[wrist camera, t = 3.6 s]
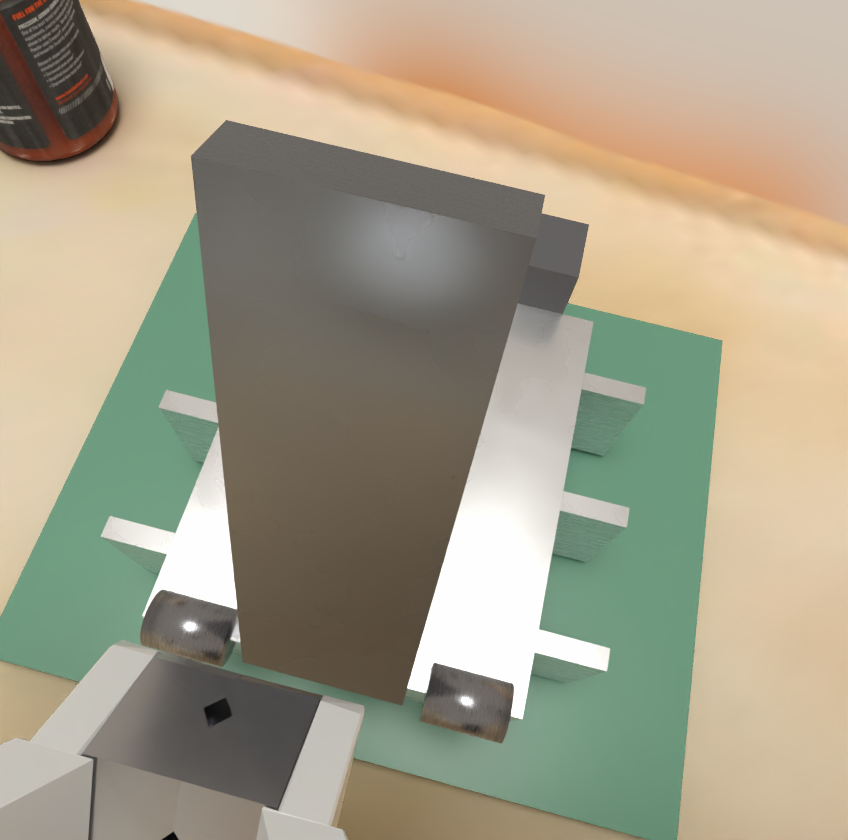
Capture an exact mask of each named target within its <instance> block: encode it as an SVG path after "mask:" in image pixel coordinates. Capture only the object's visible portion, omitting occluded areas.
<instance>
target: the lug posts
mask: <svg viewBox="0 0 848 840" xmlns="http://www.w3.org/2000/svg"><path fill="white" fill-rule="evenodd" d="M588 226H589V225H588V224H584V223H580V222H576V221H571V220H567V219H563V218H559V217H555V216H550V215H546V214H542V213H541V218H540V223H539V228H538V233H537V238H536V242H535V245H534V249H533V252H532V256H531V259H530V263H529V266H528V270H527V273H526V277H525V280H524V283H523V287H522V290H521V294H520V297H519V301H518V304H523V305H527V306H531V307H535V308H539V309H543V310H547V311H551V312H556V313H560V314H563V313H564V310H565V308H566V306H567V303H568V301H569V299H570V296H571V294H572V292H573V289H574V287H575V285H576V282H577V280H578V278H579V273H580V267H581V262H582V257H583V252H584V247H585V242H586V237H587V232H588Z"/></svg>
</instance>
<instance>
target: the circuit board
mask: <svg viewBox="0 0 848 840" xmlns="http://www.w3.org/2000/svg"><path fill="white" fill-rule="evenodd" d="M563 314H564V315H568V316H572V317H576V318H580V319H584V320H589V321H593V328H592V334H591V339H590V345H589V350H588V356H587V361H586V367H585V373H589V374H593V375H597V376H601V377H605V378H609V379H613V380H617V381H621V382H625V383H629V384H633V385H638V386H642V387H646V392H645V400H644V405H643V406H642V408H641V409H640V410H639V411H638V413H637V414H636V415H635V416H634V418H633V419H632V420H631V421H630V423H629V424H628V425H627V427H626V428H625V429H624V430H623V432H622V433H621V434H620V435H619V437H618V438H617V439H616V441H615V442H614V443H613V444H612V446H611V447H610V448H609V449H608V451H607V452H606V453H605V455H604V456H602V455H598V454H594V453H590V452H586V451H582V450H578V449H574V448H571V451H570V456H569V462H568V467H567V473H566V479H565V484H564V490H563V491H565V492H569V493H573V494H577V495H581V496H585V497H589V498H593V499H597V500H601V501H605V502H608V503H612V504H616V505H620V506H624V507H628V508H630V509H629V516H628V523H627V528H626V529H625V530H623V531H622V532H621V533H620V534H619V535H618V536H616V537H615V538H614V539H613V540H612V541H611V542H610V543H608V544H607V545H606V546H605V547H604V548H603V549H601V550H600V551H599V552H598V553H597V554H596V555H594V556H593V557H592V558H591V559H590V560H589V561H587V562H584V561H580V560H576V559H572V558H568V557H564V556H560V555H557V554H553V553H552V557H551V562H550V568H549V573H548V579H547V585H546V590H545V596H544V601H543V607H542V612H541V618H540V624H539V630H543V631H546V632H550V633H554V634H558V635H562V636H565V637H569V638H573V639H577V640H580V641H584V642H588V643H592V644H596V645H599V646H603V647H607V648H610V654H609V661H608V668H607V672H604V673H600V674H597V675H594V676H591V677H587V678H584V679H581V680H577V681H574V682H571V683H564V682H560V681H556V680H552V679H549V678H545V677H541V676H537V675H534V674H530V679H529V685H528V690H527V696H526V702H525V707H524V713H523V718H522V719H520V720H513V721H510V722H509V726H508V729H507V733H506V736H505V738H504V741H503V742H502V743H501V744H500V743H497V742H493V741H489V740H486V739H482V738H478V737H475V736H471V735H467V734H464V733H460V732H456V731H453V730H449V729H445V728H442V727H438V726H434V725H431V724H427V723H423V722H420V715H421V710H422V705H423V704H421V703H417V702H413V701H410V700H406V699H404V702H403V705H398V704H394V703H391V702H387V701H383V700H380V699H376V698H372V697H369V696H365V695H361V694H357V693H354V692H350V691H346V690H343V689H339V688H335V687H332V686H328V685H324V684H321V683H317V682H313V681H310V680H306V679H302V678H299V677H295V676H291V675H288V674H284V673H280V672H277V671H273V670H269V669H266V668H262V667H258V666H255V665H251V664H247V663H244V662H242V655H241V654H237V653H233V652H232V653H231V655H230V657H229V659H228V661H227V663H226V664H225V665H224V666H223V667H219V666H215V665H212V666H215V667H218V668H222V669H225V670H228V671H232V672H235V673H238V674H242V675H247V676H251V677H254V678H258V679H262V680H266V681H270V682H273V683H277V684H281V685H285V686H289V687H292V688H296V689H300V690H304V691H308V692H311V693H315V694H319V695H323V696H324V695H325V696H329V697H333V698H336V699H340V700H344V701H348V702H352V703H356V704H360V705H364V707H365V712H364V718H363V722H362V726H361V730H360V734H359V738H358V743H357V747H356V751H355V755H354V758H355V759H359V760H363V761H366V762H370V763H374V764H377V765H381V766H384V767H388V768H392V769H395V770H399V771H402V772H406V773H410V774H413V775H417V776H420V777H424V778H428V779H431V780H435V781H438V782H442V783H446V784H449V785H453V786H457V787H460V788H464V789H467V790H471V791H475V792H478V793H482V794H485V795H489V796H493V797H496V798H500V799H503V800H507V801H511V802H514V803H518V804H521V805H525V806H529V807H532V808H536V809H540V810H543V811H547V812H550V813H554V814H558V815H561V816H565V817H568V818H572V819H576V820H579V821H583V822H586V823H590V824H594V825H597V826H601V827H604V828H608V829H612V830H615V831H619V832H622V833H626V834H630V835H633V836H637V837H641V838H644V839H648V840H677V833H678V822H679V811H680V800H681V789H682V778H683V767H684V756H685V745H686V734H687V723H688V712H689V701H690V690H691V679H692V668H693V657H694V646H695V636H696V625H697V614H698V603H699V592H700V581H701V570H702V559H703V548H704V537H705V526H706V515H707V504H708V493H709V482H710V471H711V460H712V449H713V438H714V428H715V417H716V406H717V395H718V384H719V373H720V362H721V351H722V340H718V339H713V338H709V337H705V336H701V335H697V334H693V333H689V332H684V331H680V330H676V329H672V328H668V327H664V326H660V325H656V324H651V323H647V322H643V321H639V320H635V319H631V318H627V317H622V316H618V315H614V314H610V313H606V312H602V311H598V310H593V309H589V308H585V307H581V306H577V305H573V304H569V303H567V306H566V308H565V310H564V313H563ZM166 390H169V391H173V392H177V393H181V394H185V395H189V396H192V397H196V398H200V399H204V400H208V401H212V402H216V396H215V386H214V377H213V367H212V357H211V347H210V337H209V327H208V318H207V308H206V298H205V288H204V278H203V268H202V259H201V249H200V239H199V229H198V219H197V214H196V213H195V215H194V217H193V219H192V221H191V224H190V226H189V228H188V230H187V232H186V234H185V236H184V238H183V240H182V242H181V244H180V246H179V248H178V250H177V253H176V255H175V257H174V259H173V261H172V263H171V265H170V267H169V269H168V271H167V273H166V275H165V277H164V279H163V282H162V284H161V286H160V288H159V290H158V292H157V294H156V296H155V298H154V300H153V302H152V304H151V306H150V308H149V311H148V313H147V315H146V317H145V319H144V321H143V323H142V325H141V327H140V329H139V331H138V333H137V335H136V337H135V340H134V342H133V344H132V346H131V348H130V350H129V352H128V354H127V356H126V358H125V360H124V362H123V364H122V366H121V368H120V371H119V373H118V375H117V377H116V379H115V381H114V383H113V385H112V387H111V389H110V391H109V393H108V395H107V397H106V400H105V402H104V404H103V406H102V408H101V410H100V412H99V414H98V416H97V418H96V420H95V422H94V424H93V426H92V429H91V431H90V433H89V435H88V437H87V439H86V441H85V443H84V445H83V447H82V449H81V451H80V453H79V455H78V458H77V460H76V462H75V464H74V466H73V468H72V470H71V472H70V474H69V476H68V478H67V480H66V482H65V484H64V487H63V489H62V491H61V493H60V495H59V497H58V499H57V501H56V503H55V505H54V507H53V509H52V511H51V513H50V515H49V518H48V520H47V522H46V524H45V526H44V528H43V530H42V532H41V534H40V536H39V538H38V540H37V542H36V544H35V547H34V549H33V551H32V553H31V555H30V557H29V559H28V561H27V563H26V565H25V567H24V569H23V571H22V573H21V576H20V578H19V580H18V582H17V584H16V586H15V588H14V590H13V592H12V594H11V596H10V598H9V600H8V602H7V605H6V607H5V609H4V611H3V613H2V615H1V617H0V660H2V661H6V662H9V663H13V664H16V665H20V666H24V667H27V668H31V669H34V670H38V671H42V672H45V673H49V674H52V675H56V676H60V677H63V678H67V679H70V680H74V681H78V682H80V681H81V680H82V679H83V678H84V677H85V675H86V674H87V673H88V672H89V671H90V670H91V668H92V667H93V666H94V665H95V664H96V662H97V661H98V660H99V659H100V658H101V657H102V655H103V654H104V653H105V652H106V651H107V650H108V648H109V647H111V646H112V645H114V644H116V643H117V642H119V641H121V640H125V641H128V642H132V643H135V644H138V645H141V643H140V631H141V626H142V622H143V619H144V617H143V616H142V615H143V613H144V610H145V608H146V605H147V603H148V600H149V598H150V595H151V593H152V590H153V588H154V586H155V583H156V581H157V578H158V576H159V574H157V573H153V572H149V571H147V570H146V569H144V568H143V567H142V566H140V565H139V564H137V563H136V562H135V561H133V560H132V559H131V558H129V557H128V556H127V555H125V554H124V553H122V552H121V551H120V550H118V549H117V548H116V547H114V546H113V545H111V544H110V543H109V542H107V541H106V540H105V539H103V538H102V537H101V534H102V532H103V530H104V528H105V525H106V523H107V521H108V519H109V517H110V516H112V517H116V518H120V519H123V520H127V521H131V522H135V523H139V524H142V525H146V526H150V527H154V528H157V529H161V530H165V531H169V532H173V533H176V531H177V529H178V526H179V524H180V521H181V519H182V516H183V514H184V511H185V509H186V506H187V504H188V501H189V499H190V496H191V494H192V491H193V489H194V486H195V484H196V481H197V479H198V476H199V474H200V472H201V469H202V467H203V464H204V463H202V462H198V461H194V460H193V459H192V457H191V456H190V454H189V453H188V451H187V450H186V448H185V447H184V445H183V444H182V442H181V441H180V439H179V438H178V436H177V435H176V433H175V432H174V430H173V429H172V427H171V426H170V424H169V423H168V421H167V420H166V418H165V417H164V415H163V414H162V412H161V411H160V409H159V408H158V407H159V405H160V402H161V400H162V398H163V396H164V393H165V391H166ZM141 646H142V645H141ZM144 647H145V646H144ZM148 648H149V647H148ZM151 649H153V648H151ZM154 650H156V649H154ZM157 651H160V650H157ZM161 652H162V651H161ZM185 658H186V657H185ZM188 659H189V658H188ZM192 660H193V659H192ZM195 661H197V660H195ZM198 662H200V661H198ZM202 663H204V662H202ZM205 664H208V663H205ZM208 665H211V664H208Z"/></svg>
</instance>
